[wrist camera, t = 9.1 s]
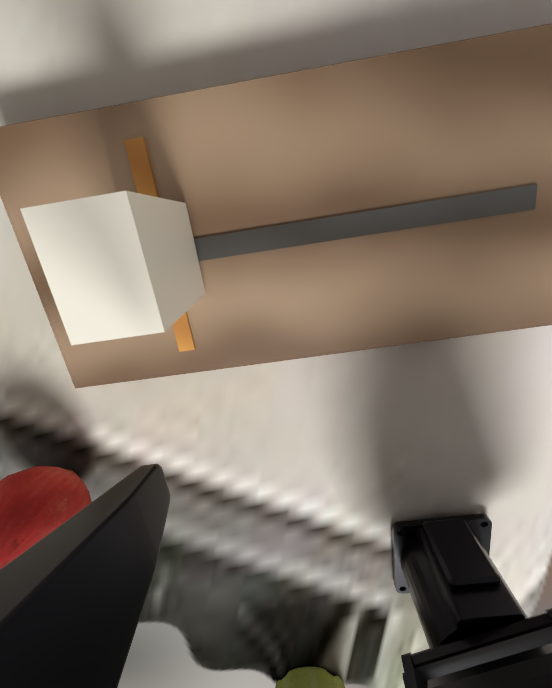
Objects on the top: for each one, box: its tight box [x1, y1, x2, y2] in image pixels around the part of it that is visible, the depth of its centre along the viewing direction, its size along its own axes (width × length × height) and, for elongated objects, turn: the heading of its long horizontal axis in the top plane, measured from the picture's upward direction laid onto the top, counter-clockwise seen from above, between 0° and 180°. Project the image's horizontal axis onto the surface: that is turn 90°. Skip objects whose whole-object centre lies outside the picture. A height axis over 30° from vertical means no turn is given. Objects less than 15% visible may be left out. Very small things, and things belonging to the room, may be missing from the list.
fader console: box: [0, 24, 552, 388], centre depth 16 cm, size 12×25×2 cm, turn 99°
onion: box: [0, 466, 91, 569], centre depth 19 cm, size 6×6×8 cm
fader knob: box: [20, 191, 206, 345], centre depth 13 cm, size 4×3×6 cm
